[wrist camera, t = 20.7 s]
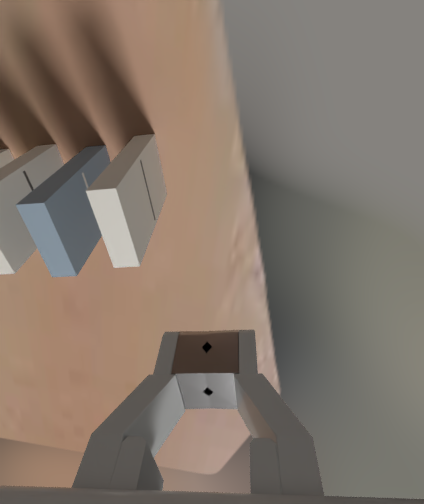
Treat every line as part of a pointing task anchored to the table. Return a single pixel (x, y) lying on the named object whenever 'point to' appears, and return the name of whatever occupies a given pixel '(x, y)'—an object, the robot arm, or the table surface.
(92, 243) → the domino
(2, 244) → the domino
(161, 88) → the table surface
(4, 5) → the table surface
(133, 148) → the domino
